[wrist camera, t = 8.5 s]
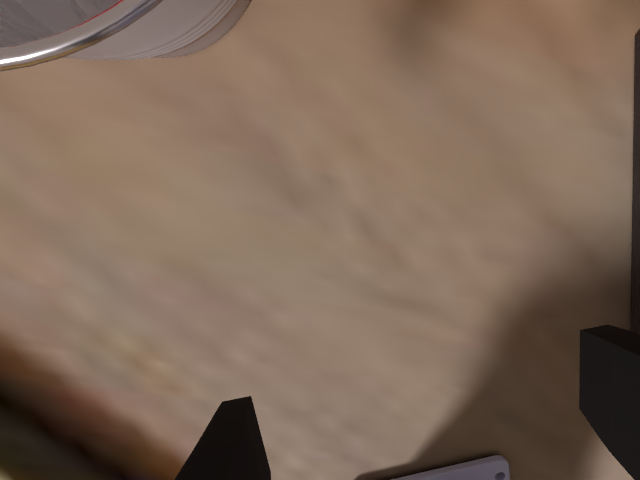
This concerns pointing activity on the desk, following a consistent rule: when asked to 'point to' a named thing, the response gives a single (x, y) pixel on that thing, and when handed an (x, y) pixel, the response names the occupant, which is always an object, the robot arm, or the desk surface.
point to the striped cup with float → (110, 29)
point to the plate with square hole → (636, 199)
